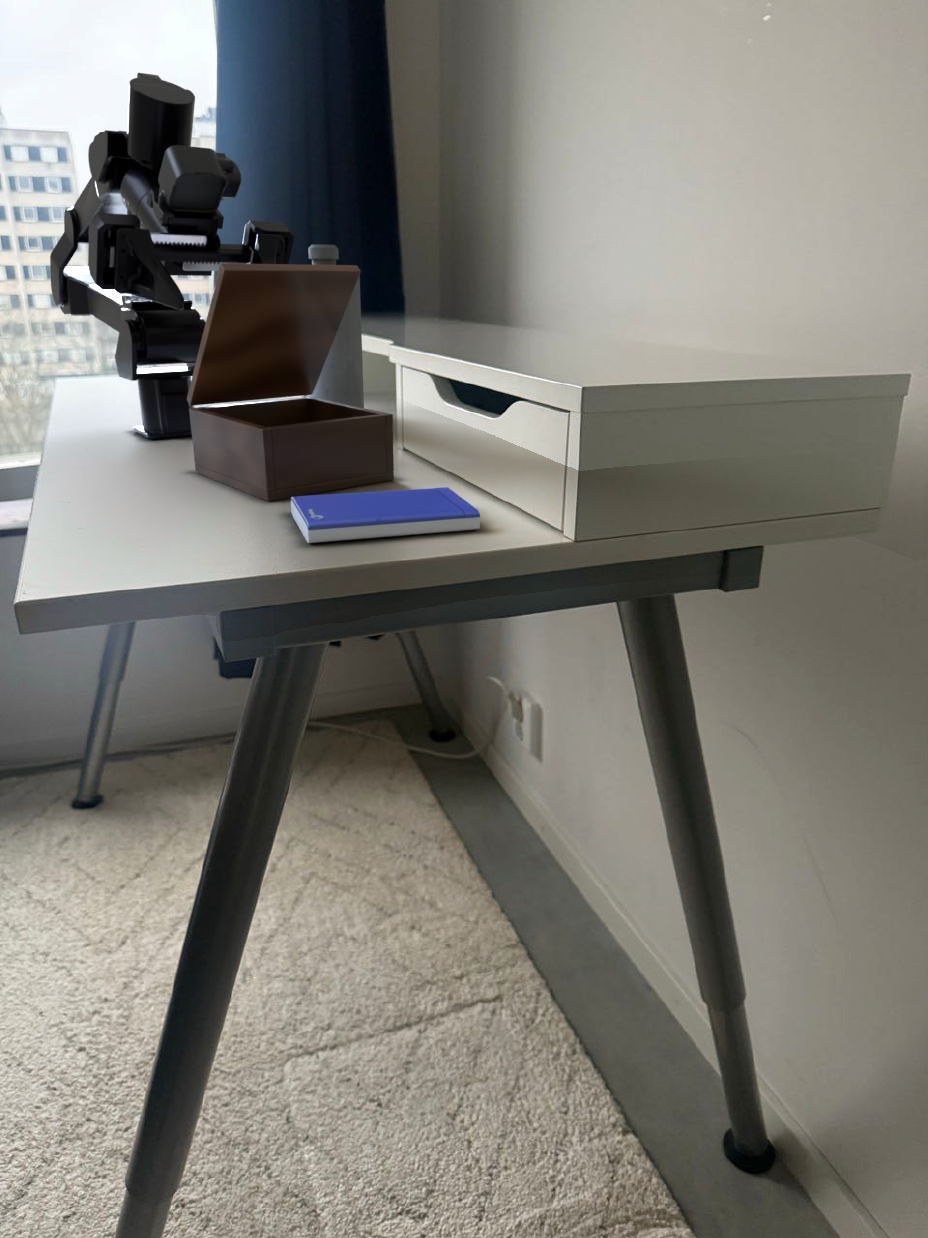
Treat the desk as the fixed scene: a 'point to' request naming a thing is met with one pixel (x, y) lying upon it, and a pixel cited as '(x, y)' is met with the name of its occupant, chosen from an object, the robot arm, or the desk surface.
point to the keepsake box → (292, 446)
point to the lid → (269, 330)
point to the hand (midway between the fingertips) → (231, 304)
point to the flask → (342, 345)
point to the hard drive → (382, 514)
